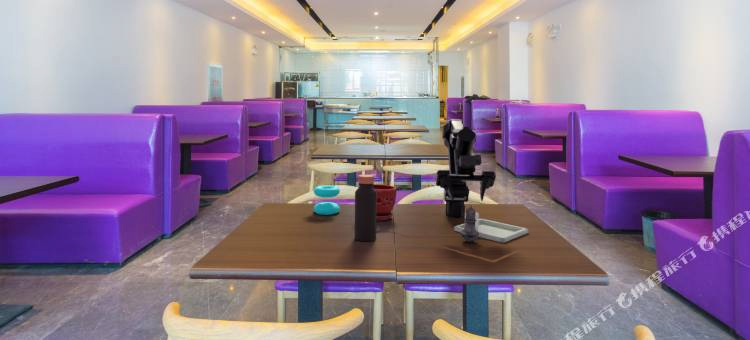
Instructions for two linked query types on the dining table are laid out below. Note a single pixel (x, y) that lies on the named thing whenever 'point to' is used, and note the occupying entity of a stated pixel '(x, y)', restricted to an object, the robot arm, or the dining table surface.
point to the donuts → (326, 207)
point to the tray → (496, 230)
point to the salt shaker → (469, 227)
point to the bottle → (365, 209)
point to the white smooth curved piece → (475, 219)
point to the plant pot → (385, 201)
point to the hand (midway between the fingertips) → (467, 199)
